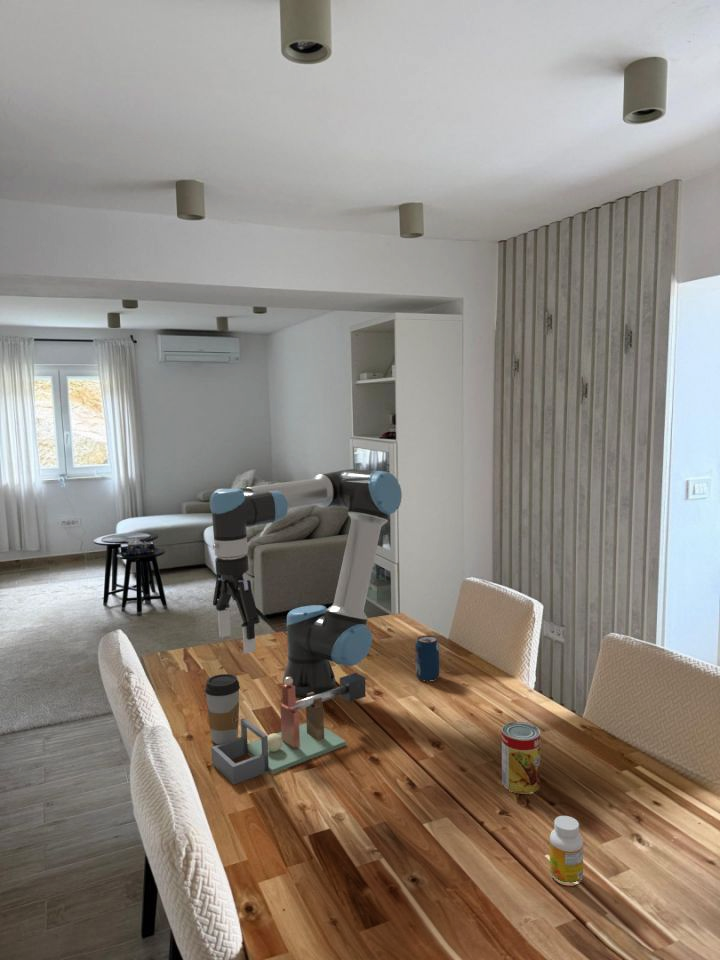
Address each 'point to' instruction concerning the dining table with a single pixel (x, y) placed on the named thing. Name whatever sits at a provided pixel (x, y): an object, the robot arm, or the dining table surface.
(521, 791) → the canned food
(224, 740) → the coffee cup
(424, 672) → the soda can
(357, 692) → the stand
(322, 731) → the foosball player figure
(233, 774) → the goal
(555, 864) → the supplement bottle
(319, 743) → the mat
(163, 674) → the dining table surface
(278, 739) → the ball
